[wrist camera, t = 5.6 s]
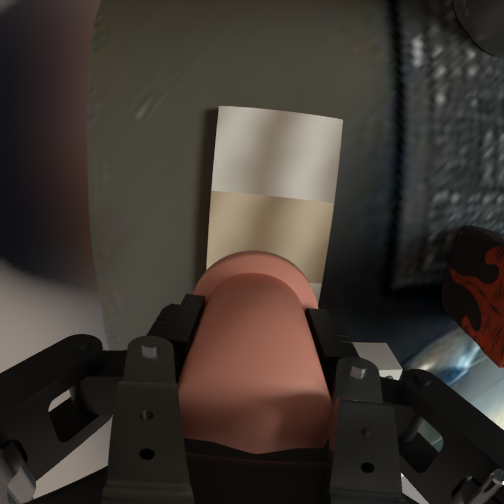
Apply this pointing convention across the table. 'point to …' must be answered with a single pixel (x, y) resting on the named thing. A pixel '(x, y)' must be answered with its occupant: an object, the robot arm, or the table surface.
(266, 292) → the pawn
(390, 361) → the die
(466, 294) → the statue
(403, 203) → the table surface
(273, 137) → the board
